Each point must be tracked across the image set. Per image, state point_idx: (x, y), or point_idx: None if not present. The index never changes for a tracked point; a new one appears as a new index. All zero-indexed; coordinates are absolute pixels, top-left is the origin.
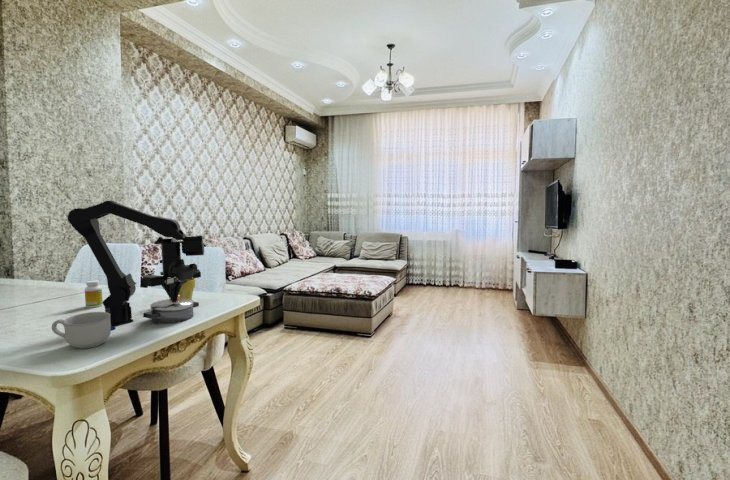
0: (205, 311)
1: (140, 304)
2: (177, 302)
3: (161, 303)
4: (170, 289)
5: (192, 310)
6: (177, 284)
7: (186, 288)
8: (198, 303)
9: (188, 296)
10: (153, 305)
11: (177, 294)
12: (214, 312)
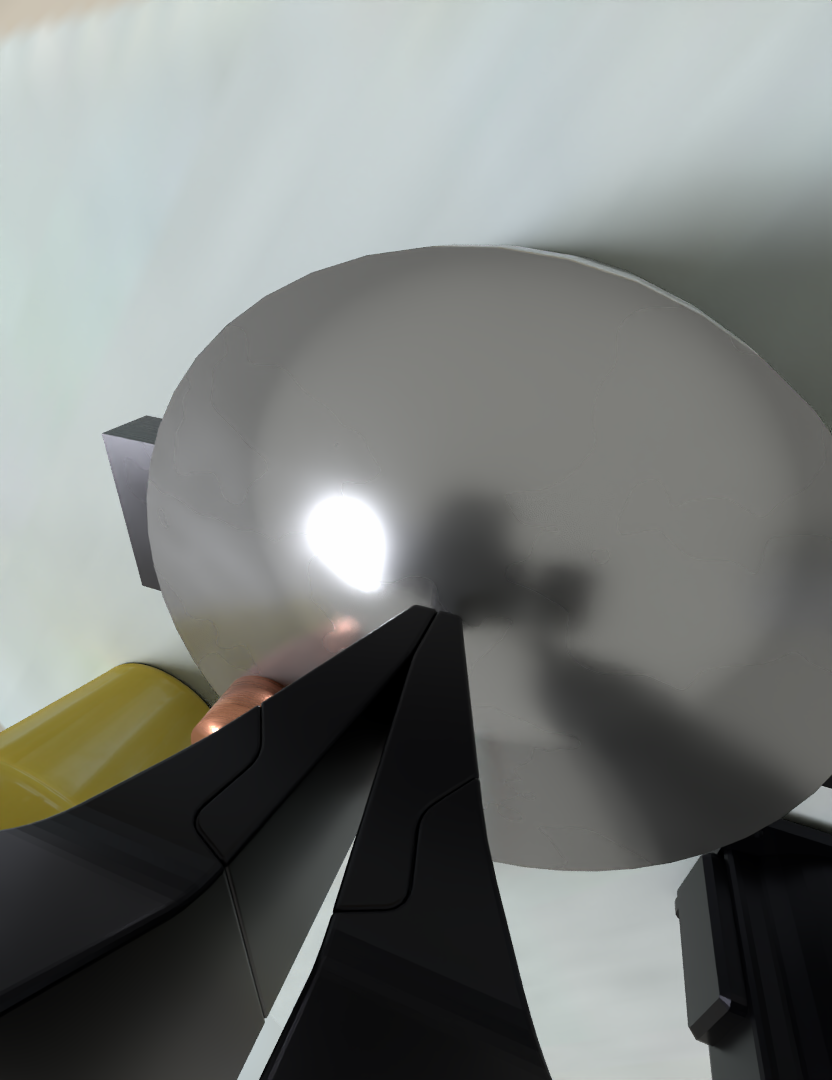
0: (141, 351)
1: (326, 914)
2: (382, 591)
3: (537, 771)
4: (517, 969)
5: None
6: (112, 1011)
7: (15, 789)
8: (118, 428)
9: (81, 712)
10: (692, 819)
11: (332, 681)
12: (87, 184)
